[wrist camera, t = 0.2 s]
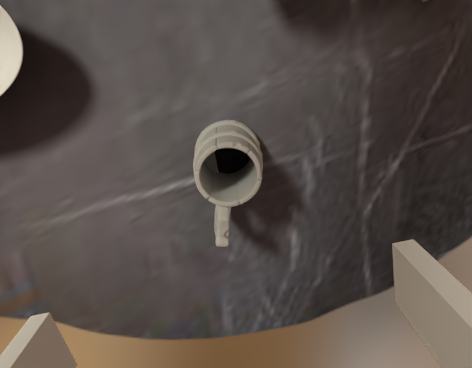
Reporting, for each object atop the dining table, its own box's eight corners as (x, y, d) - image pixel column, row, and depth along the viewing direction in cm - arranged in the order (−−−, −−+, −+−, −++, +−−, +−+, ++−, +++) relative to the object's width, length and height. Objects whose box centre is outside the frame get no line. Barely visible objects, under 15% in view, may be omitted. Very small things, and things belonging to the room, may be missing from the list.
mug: (263, 120, 38) (279, 144, 27) (250, 211, 42) (260, 265, 31) (198, 114, 37) (186, 135, 26) (191, 206, 41) (179, 259, 30)
